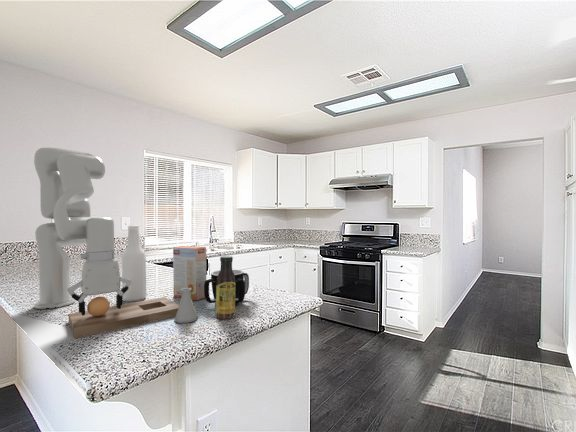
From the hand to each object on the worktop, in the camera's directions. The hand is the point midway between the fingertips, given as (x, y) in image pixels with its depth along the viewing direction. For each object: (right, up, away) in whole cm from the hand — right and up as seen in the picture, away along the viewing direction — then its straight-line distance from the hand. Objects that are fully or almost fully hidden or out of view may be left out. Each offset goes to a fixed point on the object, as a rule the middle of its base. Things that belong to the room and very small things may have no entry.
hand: (101, 310), depth 96 cm
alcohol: (-4, -4, +28) cm, 29 cm away
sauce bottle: (+38, -4, +5) cm, 39 cm away
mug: (+36, -4, +20) cm, 41 cm away
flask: (+26, -4, +2) cm, 26 cm away
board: (+6, -4, +5) cm, 8 cm away
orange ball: (-1, +2, -1) cm, 2 cm away
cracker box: (+18, -4, +30) cm, 35 cm away
